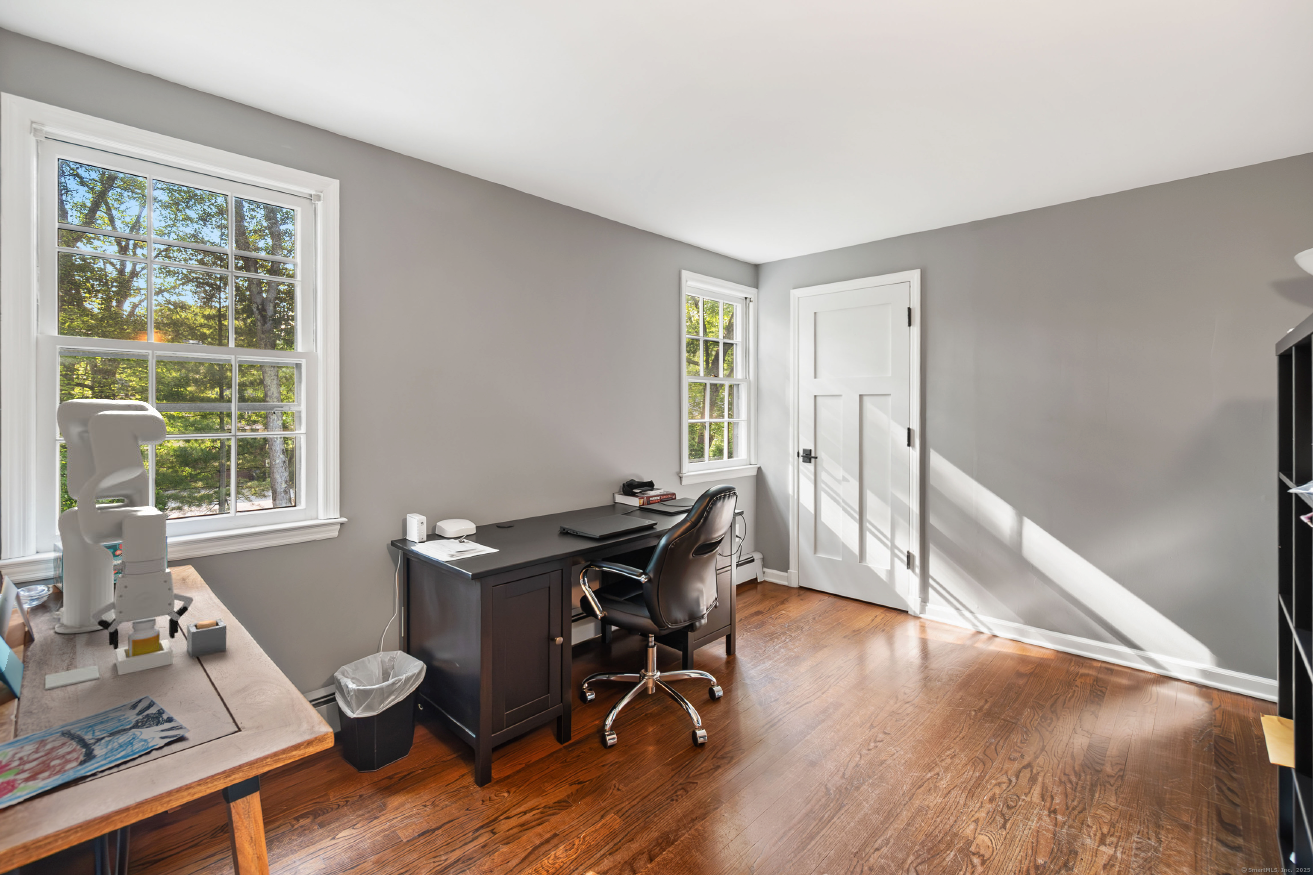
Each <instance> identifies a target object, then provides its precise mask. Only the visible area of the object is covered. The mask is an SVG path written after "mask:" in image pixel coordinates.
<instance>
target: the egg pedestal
mask: <svg viewBox="0 0 1313 875" xmlns="http://www.w3.org/2000/svg"><path fill="white" fill-rule="evenodd" d="M214 620H215V621H216V626H215V627H210V628H204V629H199V630H197V624H198V623H199V622H195V623H189V624H186V650H187V653H188V654H189V656H190V658H191V659H193V658H197V657H203V656H208V655H212V654H217V653H221V652H225V651H227V625H226V623H225V622H224V621H223V620H222V618H218V619H217V618H216V619H214Z"/></svg>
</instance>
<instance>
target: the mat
mask: <svg viewBox="0 0 1313 875" xmlns="http://www.w3.org/2000/svg"><path fill="white" fill-rule="evenodd" d="M100 677H101V676H100V673H99V666H98V664H95V665H91V666H90V665H89V666H85V667H81V668H75V669H70V670H67V671H60V672H55V673H51V674H46V675H45V678H44V679H45V680H44V683H45V685H44V686H45V687H44V690H46V691H47V690H51V689H57V688H61V687H66V686H71V685H75V684H80V683H85V682H90V681H94V680H99V679H100Z"/></svg>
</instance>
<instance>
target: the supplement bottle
mask: <svg viewBox="0 0 1313 875" xmlns="http://www.w3.org/2000/svg"><path fill="white" fill-rule="evenodd" d="M156 623H157V621H156V617H153V618H148V619H142V620H136V621H132V624H131V628H132V631H130V632H129V634H128V636H127V637H128V638H127V640H128V641H127V647H128V658H129V657H134V656H139V655H144V654H149V653H154V652H159V651H160V641H161V640H160V636H161V635H160V634H161V633H160V629H159V628H158V627H156Z"/></svg>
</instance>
